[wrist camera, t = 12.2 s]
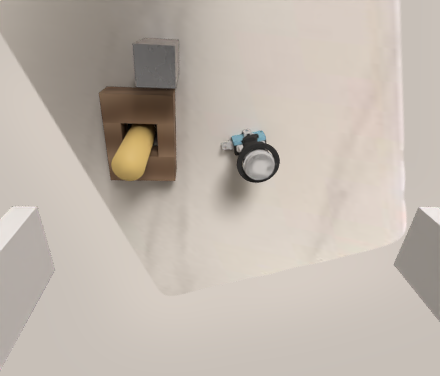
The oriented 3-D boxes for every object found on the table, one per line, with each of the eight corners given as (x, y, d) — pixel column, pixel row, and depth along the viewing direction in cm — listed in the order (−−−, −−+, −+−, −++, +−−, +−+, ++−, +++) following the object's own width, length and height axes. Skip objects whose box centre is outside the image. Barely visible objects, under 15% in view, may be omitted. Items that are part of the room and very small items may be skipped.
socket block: (106, 86, 41) (98, 93, 37) (175, 89, 42) (173, 95, 38) (117, 167, 47) (110, 180, 43) (176, 168, 48) (175, 180, 44)
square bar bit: (145, 37, 38) (132, 43, 31) (178, 39, 39) (174, 45, 31) (147, 73, 41) (135, 86, 33) (179, 74, 41) (175, 88, 33)
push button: (224, 159, 47) (230, 191, 39) (218, 126, 45) (224, 153, 36) (266, 151, 47) (282, 182, 39) (263, 118, 45) (280, 143, 36)
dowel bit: (129, 118, 43) (109, 150, 33) (155, 118, 44) (143, 151, 33) (131, 142, 45) (113, 180, 35) (156, 142, 45) (145, 181, 35)
